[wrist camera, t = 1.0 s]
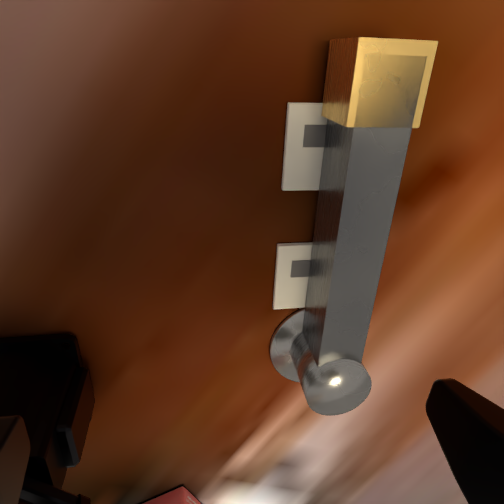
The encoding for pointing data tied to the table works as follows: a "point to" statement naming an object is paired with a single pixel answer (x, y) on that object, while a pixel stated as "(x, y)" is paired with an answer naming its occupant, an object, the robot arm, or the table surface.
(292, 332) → the pivot base
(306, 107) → the label tile
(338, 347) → the swing arm
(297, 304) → the label tile
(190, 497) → the ink cartridge box
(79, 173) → the table surface
